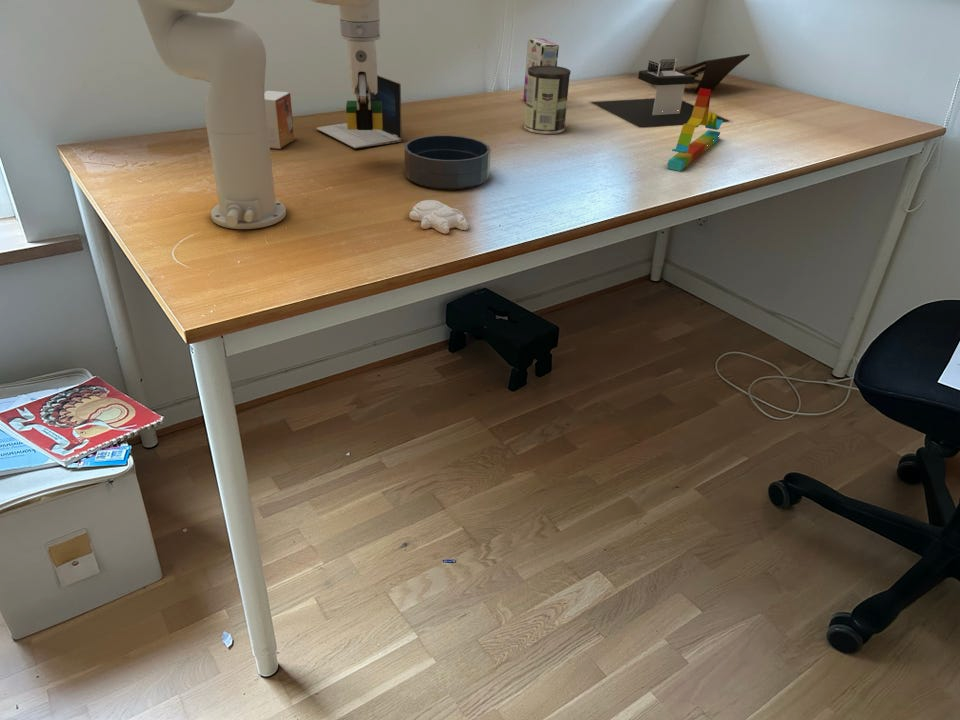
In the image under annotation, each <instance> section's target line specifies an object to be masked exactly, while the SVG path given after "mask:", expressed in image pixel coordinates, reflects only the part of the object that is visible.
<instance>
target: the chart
mask: <svg viewBox="0 0 960 720" xmlns="http://www.w3.org/2000/svg"><path fill="white" fill-rule="evenodd" d="M711 95H712V89H704V88H700V89H699V92H697V96H696V99H695V102H694V104H693V105H694V109H693V112H692V115H691V118H690V119H689V121H688V122H687V123H686V124H682V128H681V131H680V134H679V137H678V140H677V143H676V147H675V148H672V149H671V151H672V152H676V154H675V155H674V156H672V157H671V158H669V159H668V162H667V164H666V165H667V169H669V170H673V171H678V172H681V171H682V170H683V169H685V168H686V167H687V166H689V165H690V164H691V163H693V162H694V161H695V160H696V159H697V158H698V157H700V156H701V155H702V154H703V153H705V152H706V151H708V149H709V148H711V147H712V146H713V145H714V144H715V143H717V142H718V141H719V140H720V136H719V135H720V134H721V131H718V130H720V128H721V126H722V124H723V123H724V121H723V120H718V119H717V116H718V114H717V113H713V112H711V111H710V103H711ZM699 126H705V129H708V130H707V131H705V132H704V133H702V134H701V135H700V136H699V137H697V138H696V139H695V140H693V141H692V138H693V135H694V132H695V129H696V128H699ZM718 136H719V137H718ZM713 140H714V141H713ZM691 141H692V142H691ZM707 145H708V146H707Z"/></svg>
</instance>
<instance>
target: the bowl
mask: <svg viewBox="0 0 960 720" xmlns="http://www.w3.org/2000/svg"><path fill="white" fill-rule="evenodd" d="M403 151H404V152H403V155H404V157H403V158H404V163H403V164H404V176H405V177H406V178H407V179H408V180H409V181H411V182H412V183H414V184H416V185H419V186H421V187H425V188H429V189H433V190H434V189H435V190H447V191H450V190H452V191H453V190H466V189H470V188H474V187H477V186H479V185H481V184H482V183H485V182H486V181H487V180H488V179H489V177H490V167H491V152H492V151H491V147H490V145H488V143H485V142H484V141H481V140H479V139H476V138H472V137H467V136H462V135H451V134H450V135H449V134H435V135H425V136H419V137H416V138H413V139H411V140H409V141H406V143H405V144H404V145H403Z"/></svg>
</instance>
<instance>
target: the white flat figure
mask: <svg viewBox="0 0 960 720" xmlns="http://www.w3.org/2000/svg"><path fill="white" fill-rule="evenodd" d="M408 216H409V219H410V220H412V221H419V222H420V227H421V229H422V230H423V229H424V230H426V229H430V228H432V229H434V230H435V231H437V232H439V233H441V234H445V235H446V234H448V233H449V232H450V229H453V228H456V229H459V230H461V231H467V230H468V228H469V222H468V220H467V218H466V216H464V212H462V211H461V210H460V209H457V208H452V207H450V206H449V205H447V204H445V203H443V202H441V201H439V200H436V199H425V200H422V201H420V202H417V203H416V204H415V205H413V207H412V209H411V211H410V212H409V215H408Z"/></svg>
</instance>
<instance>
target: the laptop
mask: <svg viewBox="0 0 960 720" xmlns="http://www.w3.org/2000/svg"><path fill="white" fill-rule="evenodd" d="M401 87H402V85H401V82H398V81H395V80H393V79H390V78H387V77H384V76H382V75H379V74H377V89H378V92H377V94H376V95H374V93H371V101H382V130H348V129H347V122H344V123H338V124H336V123H335V124H331V125H324V126H323V125H322V126H318V127H317V126H316V128H315V129H316V130H318V131H320V132H322V133H323V134H325V135H327V136H329V137H331V138H333V139H335V140H337V141H339V142H341V143H343V144H345V145H347V146H349V147H351V148H353V149H361V148H368V147H373V146H381V145H388V144H395V143H400V142H402V138H403V136H402V134H403V132H402V88H401Z"/></svg>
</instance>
